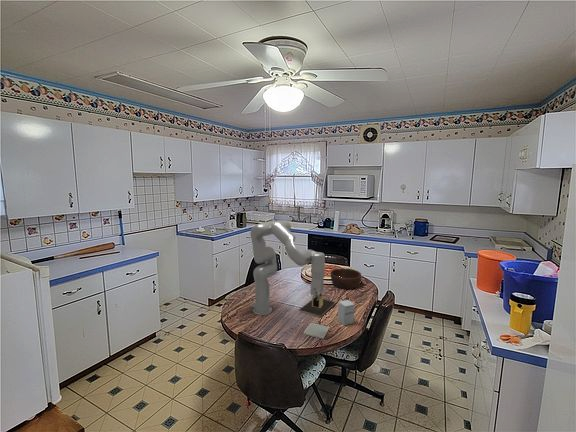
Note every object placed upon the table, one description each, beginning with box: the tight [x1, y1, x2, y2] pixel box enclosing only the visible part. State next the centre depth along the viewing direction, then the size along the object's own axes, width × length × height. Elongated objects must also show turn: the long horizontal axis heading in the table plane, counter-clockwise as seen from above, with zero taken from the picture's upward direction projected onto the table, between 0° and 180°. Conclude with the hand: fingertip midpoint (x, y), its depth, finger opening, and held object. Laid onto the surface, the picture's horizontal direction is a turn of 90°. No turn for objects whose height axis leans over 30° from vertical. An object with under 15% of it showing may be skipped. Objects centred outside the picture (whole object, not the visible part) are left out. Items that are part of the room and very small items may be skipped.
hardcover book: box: [298, 298, 336, 318], centre depth 197 cm, size 16×23×2 cm
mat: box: [302, 322, 330, 340], centre depth 167 cm, size 12×12×1 cm
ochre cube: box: [311, 295, 324, 308], centre depth 165 cm, size 5×5×5 cm
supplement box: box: [337, 299, 355, 326], centre depth 178 cm, size 7×7×13 cm
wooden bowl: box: [330, 267, 362, 290], centre depth 238 cm, size 25×25×10 cm
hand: (317, 304), depth 165 cm, fingers closed on ochre cube, 5 cm apart
